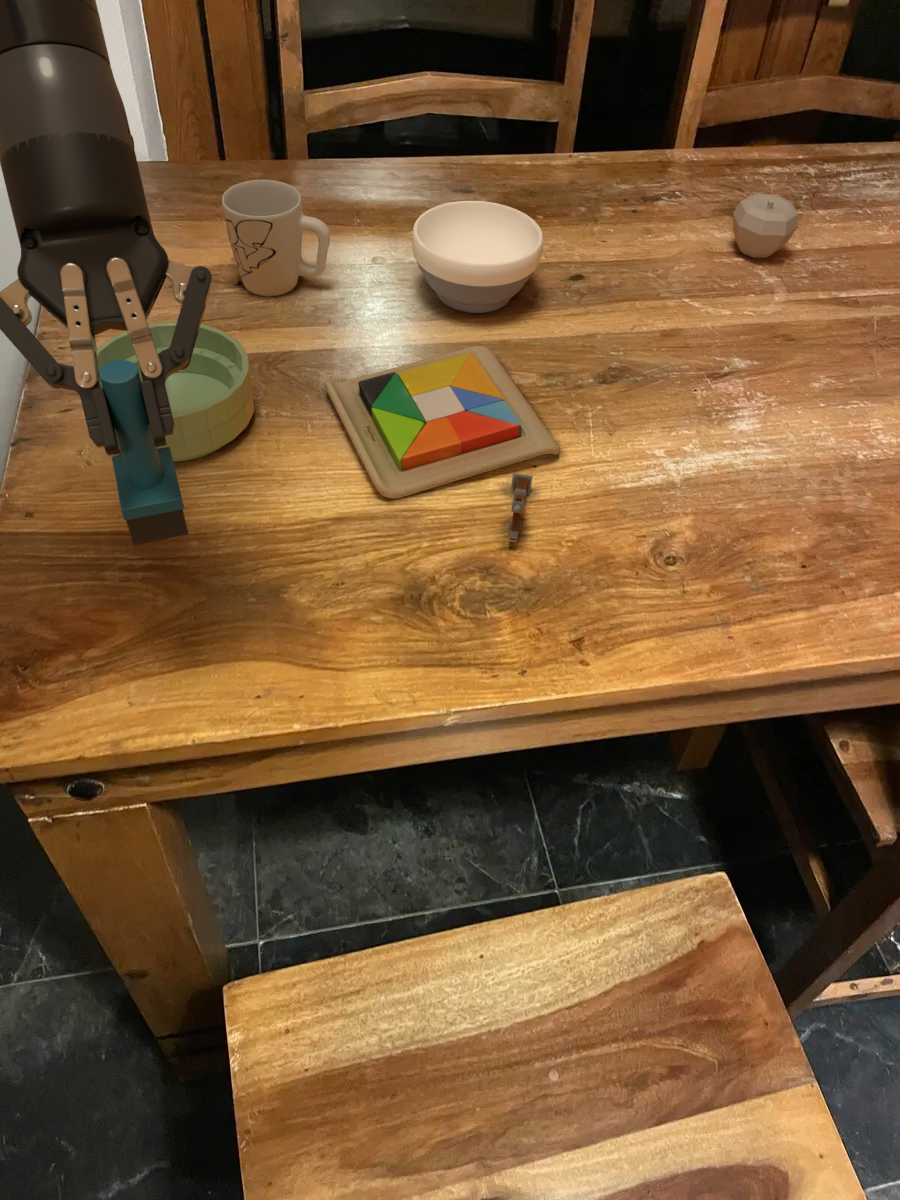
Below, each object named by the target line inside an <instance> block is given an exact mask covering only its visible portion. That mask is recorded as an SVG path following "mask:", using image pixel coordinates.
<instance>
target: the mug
mask: <svg viewBox="0 0 900 1200" xmlns="http://www.w3.org/2000/svg"><path fill="white" fill-rule="evenodd" d="M302 201H303V200H302V196H301V194H300V192H299V190H298V189H296V188H295V187H294V186H292V185H290V184H289V183H286V182H282V181H278V180H273V179H253V180H252V179H251V180H246V181H242V182H239V183H236V184H234V185H232V186H230V187H229V188H228V189H226V190H225V191H224V192H223V194H222V197H221V207H222V212H223V217H224V221H225V225H226V227H225V228H226V231H227V236H228V240H229V245H230V248H231V251H232V254H233V258H234V260H235V264H236V267H237V270H238V273H239V276H240V280H241V282H242V285H243V286H244V288H245V289H246V290H247V291H248V292H249V293H252V294H254V295H257V296H261V297H277V296H281V295H285V294H287V293H290V292H291V291H293V290H294V288H296V286H297V284H298V281H299V277H300V276H301V277H305V278H318V277H320V276H321V275H323V274H324V271H325V270H326V266H327V260H328V259H327V258H328V252H329V248H330V243H331V233H330V229H329V226H328V225H327V224H326V223H325V222H324V221H322V220H321V219H319V218H317V217H313V216H308V215H305V214H304V213H303V202H302ZM304 231H311V232H314V233H315V235H316V236H317V241H318V242H317V253H316V260H315V261H316V263H315V265H312V264H308V263H306V262H305V260H304V259H303V258H302V244H303V232H304Z"/></svg>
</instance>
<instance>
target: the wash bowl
mask: <svg viewBox="0 0 900 1200" xmlns="http://www.w3.org/2000/svg"><path fill="white" fill-rule="evenodd" d="M176 324H177V321H164V322H154V323H150V324H149V323H148V326H149V329H150V332H151V335H152V338H153V341H154V344H155V347H156V350H157V353H160V352H162V351H163V350H165V349H167V348H169V347H170V346H171V342H172V339H173V335H174V331H175V328H176ZM97 359H98V367H99V371H100V369H101V367H102V366H103V365H105V364H106V363H108V362H111V361H115V360H127V361H130V362H132V363H134V364H135V365H136V366H137V368H138V372H139V376H140V380H141V382H143V379H142V375H141V370H140V366H139V363H138V360H137V357H136V354H135V352H134V349H133V346H132V343H131V340H130V337H129V335H128V332H127V330H125V331H122V332H121V333H119V334H116V335H114V336H112V337H110V338H108V339H107V340H106V341H105V342H103V343H101V345H100V346H98V347H97ZM251 374H252V373H251V367H250V361H249V355H248V353H247V352H246V350H245V348H244V347H243V345H242V344H241V342H240V341H239V340H238V339H236V338H234V337H233V336H232V335H230V334H229V333H227V332H226V331H224V330H222V329H218V328H216V327H213V326H210V325H207V324H203V323H201V325H200V329H199V332H198V336H197V339H196V343H195V346H194V350H193V354H192V357H191V361H190V364H189V366H188V367H187V368H186V369H184V370H179V371H177V372H175V373H173V374H171V375H170V376H169V377H168V378H167V380H166V383H165V386H166V391H167V395H168V399H169V404H170V408H171V412H172V417H173V421H174V431H173V434H172V435H166V436H165V439H166V444H167V445H165V446H160V447H157V449H158V448H164V447H170V450H171V454H172V458H173V462H182V461H188V460H195V459H198V458H201V457H205V456H207V455H210V454H212V453H214V452H217V451H218V450H220V449H222V448H224V447H225V446H226V445H228V444H229V443H230V442H232V441H233V440H235V439H236V438H237V437H238V436H239V435H240V434H241V433H242V432H243V431H244V430H245V429H246V428H247V427H248V425H249V423H250V421H251V419H252V417H253V414H254V412H255V398H254V389H253V383H252V375H251ZM100 382H101V380H100ZM101 388H103V387H102V384H101ZM117 441H118V440H117ZM118 446H119V444H118ZM119 450H120V447H119Z"/></svg>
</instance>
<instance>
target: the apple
mask: <svg viewBox="0 0 900 1200" xmlns="http://www.w3.org/2000/svg"><path fill="white" fill-rule="evenodd" d="M798 228H799V212H798V211H797V209H796V207H795V205H794V203H793V202H792V201H791V200H789V199H787V198H783V197H781V196H780V195H777V194H774V193H752V194H751V195H748V196H747V197H745V198H744V199H742V200H740V201H739V203H738V205H737V206H736V208H735V210H734V211H733V213H732V232H733V235H734V239H735V242H736V245H737V248H738V249H739V251H740V252H741V253H742V254H744V255H745V256H747V257H751V258H753V259H766V258H768V257H770V256H771V255H773V254H775V253H776V252H778V251H779V250H780V249H782V248H783V247H784V246H785V245H786V244H787V243H788V242H789V241H790V239H791V238H792V237H793V235H794V233H795V232H796V231H797V229H798Z"/></svg>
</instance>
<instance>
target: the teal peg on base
mask: <svg viewBox="0 0 900 1200" xmlns="http://www.w3.org/2000/svg"><path fill="white" fill-rule="evenodd" d="M99 377H100V380H101V384H102V387H103V390H104V393H105V397H106V400H107V404H108V407H109V411H110V414H111V418H112V421H113V425H114V429H115V433H116V437H117V440H118V444H119V447H120V454H117V455H112V456H111V461H112V466H113V471H114V477H115V483H116V488H117V494H118V500H119V506H120V510H121V513H122V517H123V520H124V521H125V522H126V524H127V528H128V531H129V534H130V538H131V541H132V545H133V546H138V545H139V546H140V545H144V544H148V543H154V542H158V541H163V540H169V539H173V538H178V537H184V536H188V535H189V530H188V526H187V521H186V517H185V513H184V512H185V511H184V509H185V506H184V501H183V497H182V496H183V495H182V492H181V488H180V484H179V480H178V476H177V471H176V467H175V463H174V462H175V461H173V458H172V454H171V450H170V447H164V448H158V449H157V447H155V444H154V440H153V436H152V431H151V427H150V423H149V418H148V414H147V410H146V406H145V401H144V397H143V393H142V389H141V384H140V382H141V380H140V376H139V372H138V368H137V366H136V365H135V364H134V363H132V362H130V361H127V360H115V361H111V362H108V363H106V364H105V365H103V366H102V367H101V369H100V371H99Z"/></svg>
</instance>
